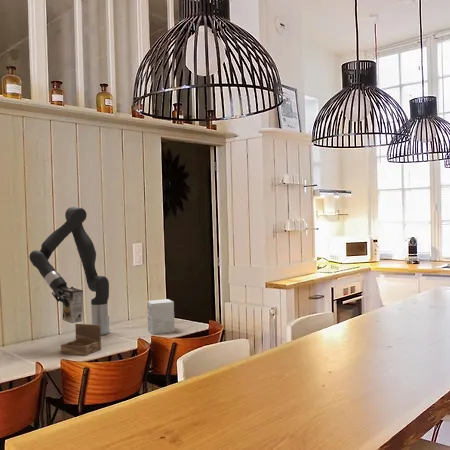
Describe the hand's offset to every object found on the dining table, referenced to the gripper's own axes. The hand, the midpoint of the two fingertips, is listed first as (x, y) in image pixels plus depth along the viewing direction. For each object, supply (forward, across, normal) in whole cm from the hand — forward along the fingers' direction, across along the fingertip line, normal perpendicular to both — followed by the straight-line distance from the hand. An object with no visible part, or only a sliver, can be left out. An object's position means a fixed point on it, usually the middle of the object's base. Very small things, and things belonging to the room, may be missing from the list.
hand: (73, 304), depth 247 cm
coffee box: (+5, 0, +7) cm, 9 cm away
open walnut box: (+20, -3, +12) cm, 23 cm away
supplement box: (+31, +48, +1) cm, 57 cm away
